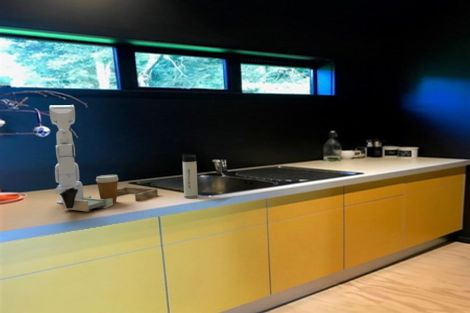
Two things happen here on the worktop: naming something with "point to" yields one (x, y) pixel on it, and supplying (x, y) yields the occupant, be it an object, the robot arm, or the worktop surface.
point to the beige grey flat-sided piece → (89, 203)
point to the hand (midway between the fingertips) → (70, 208)
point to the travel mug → (190, 176)
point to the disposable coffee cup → (108, 186)
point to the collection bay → (138, 192)
